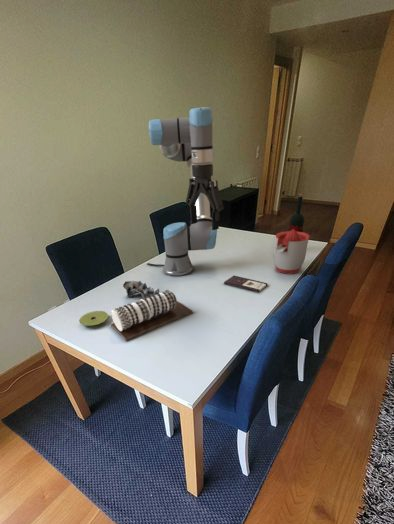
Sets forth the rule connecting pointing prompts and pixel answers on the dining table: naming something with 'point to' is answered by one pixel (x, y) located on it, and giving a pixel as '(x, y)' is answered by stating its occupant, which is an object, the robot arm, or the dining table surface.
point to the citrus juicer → (290, 251)
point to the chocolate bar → (245, 283)
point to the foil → (138, 289)
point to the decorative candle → (143, 309)
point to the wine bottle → (297, 217)
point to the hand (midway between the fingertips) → (204, 226)
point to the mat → (93, 318)
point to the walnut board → (153, 322)
